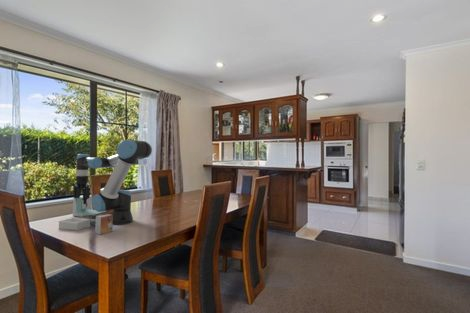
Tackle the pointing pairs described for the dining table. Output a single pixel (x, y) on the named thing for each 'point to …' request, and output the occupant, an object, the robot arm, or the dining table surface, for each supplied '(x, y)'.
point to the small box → (104, 224)
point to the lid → (84, 211)
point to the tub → (74, 224)
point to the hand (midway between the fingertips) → (81, 208)
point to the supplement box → (88, 206)
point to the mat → (93, 222)
